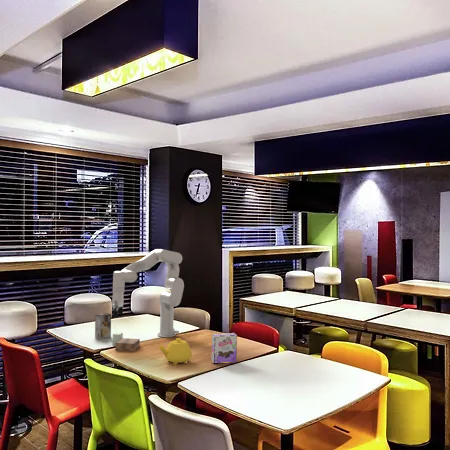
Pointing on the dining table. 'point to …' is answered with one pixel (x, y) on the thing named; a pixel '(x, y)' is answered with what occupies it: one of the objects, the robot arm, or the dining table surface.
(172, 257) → the robot arm
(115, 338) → the sage block
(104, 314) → the coffee box
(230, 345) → the candy box
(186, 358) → the teapot
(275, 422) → the dining table surface
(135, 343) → the block
